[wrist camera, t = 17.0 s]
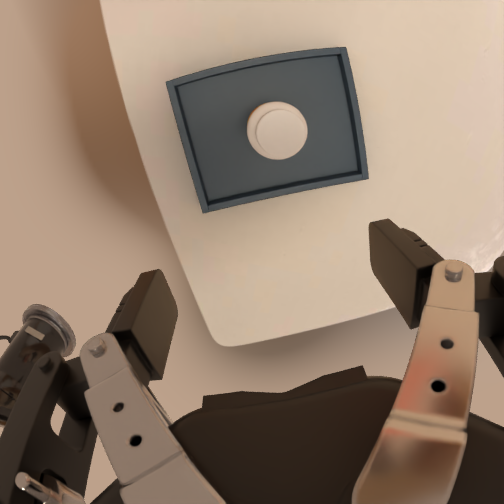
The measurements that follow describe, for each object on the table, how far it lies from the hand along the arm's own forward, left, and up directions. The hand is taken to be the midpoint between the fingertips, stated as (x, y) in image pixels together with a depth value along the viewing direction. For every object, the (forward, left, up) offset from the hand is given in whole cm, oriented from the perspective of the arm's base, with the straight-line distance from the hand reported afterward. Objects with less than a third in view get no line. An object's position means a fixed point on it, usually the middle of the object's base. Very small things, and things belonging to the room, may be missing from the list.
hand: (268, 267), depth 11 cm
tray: (+3, +3, -25) cm, 25 cm away
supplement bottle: (+3, +3, -24) cm, 25 cm away
